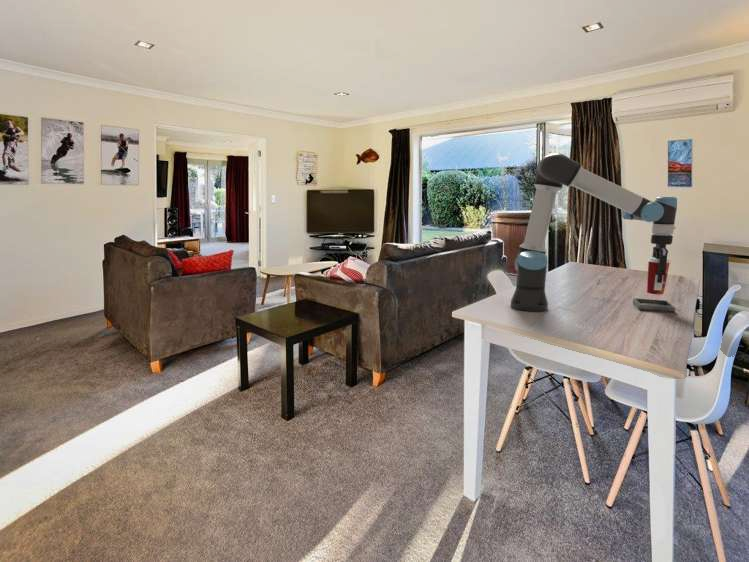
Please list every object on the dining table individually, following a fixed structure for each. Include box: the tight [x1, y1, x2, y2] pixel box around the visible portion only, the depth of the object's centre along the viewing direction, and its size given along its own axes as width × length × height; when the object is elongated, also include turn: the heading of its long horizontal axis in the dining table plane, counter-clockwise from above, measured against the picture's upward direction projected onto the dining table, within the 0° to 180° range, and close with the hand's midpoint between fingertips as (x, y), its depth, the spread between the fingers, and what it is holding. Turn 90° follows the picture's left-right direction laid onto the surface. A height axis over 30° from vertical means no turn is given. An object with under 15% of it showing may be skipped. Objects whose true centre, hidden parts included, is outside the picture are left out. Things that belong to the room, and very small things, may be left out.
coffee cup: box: [646, 256, 672, 296], centre depth 188 cm, size 8×8×15 cm
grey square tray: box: [632, 297, 676, 314], centre depth 190 cm, size 13×13×2 cm
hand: (655, 288), depth 189 cm, fingers closed on coffee cup, 7 cm apart
